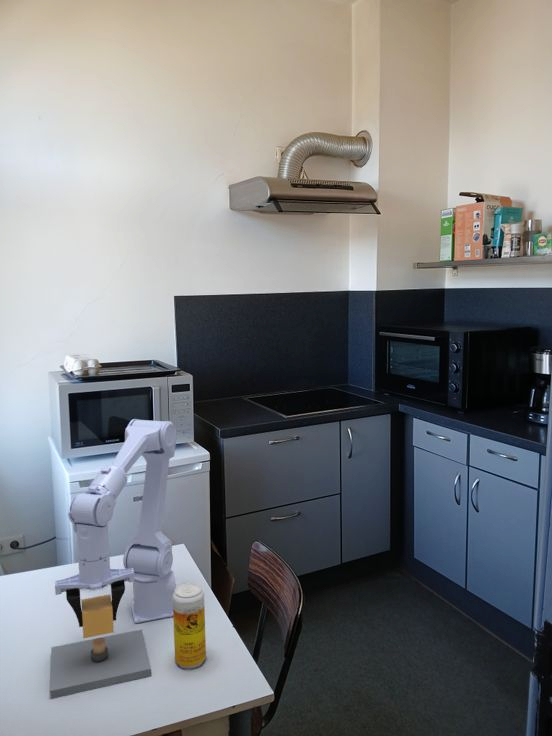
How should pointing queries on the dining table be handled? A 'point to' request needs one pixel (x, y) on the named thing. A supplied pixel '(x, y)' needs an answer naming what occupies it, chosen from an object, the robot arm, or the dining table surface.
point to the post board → (98, 663)
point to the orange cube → (97, 616)
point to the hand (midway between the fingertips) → (97, 621)
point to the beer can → (189, 625)
